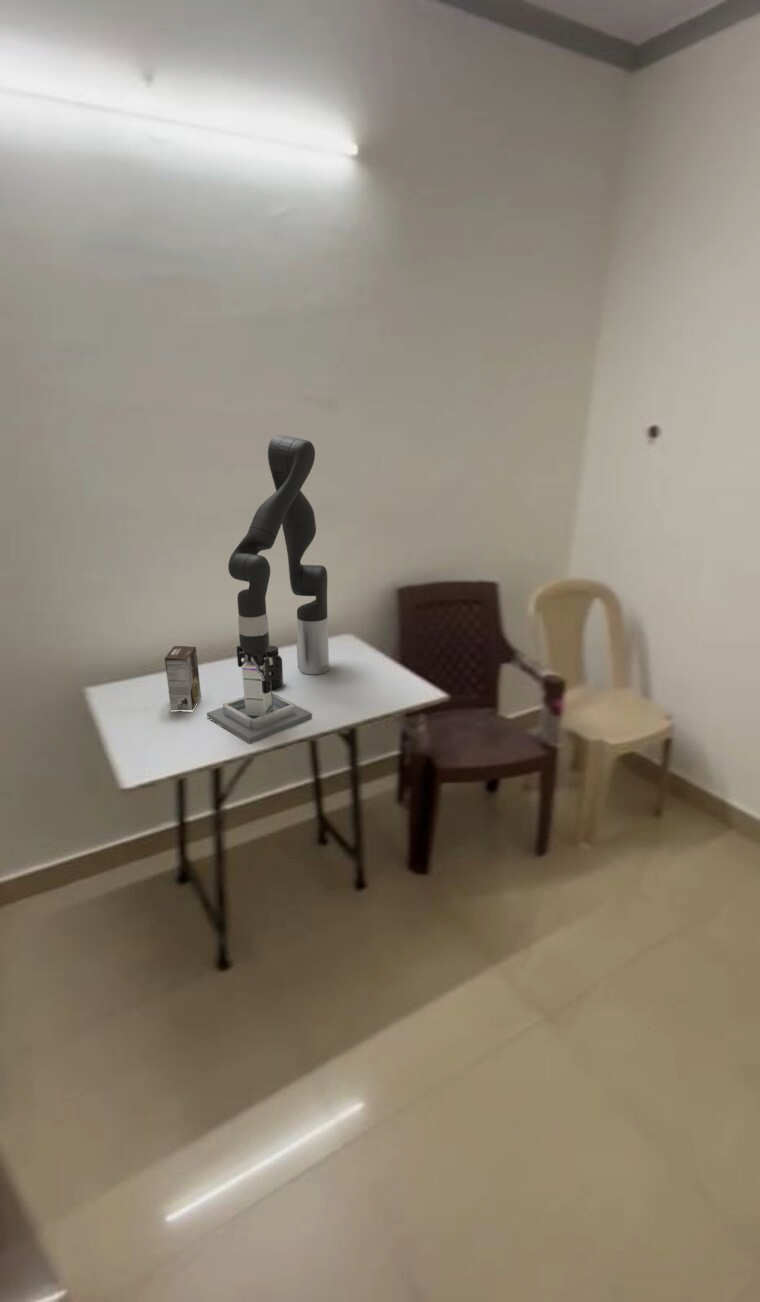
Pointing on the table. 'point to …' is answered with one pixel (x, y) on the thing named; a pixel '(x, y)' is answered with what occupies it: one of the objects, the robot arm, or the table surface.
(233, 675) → the table surface
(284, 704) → the frame
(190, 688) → the coffee box
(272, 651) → the supplement bottle
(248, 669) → the syrup box
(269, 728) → the plate
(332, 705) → the table surface
